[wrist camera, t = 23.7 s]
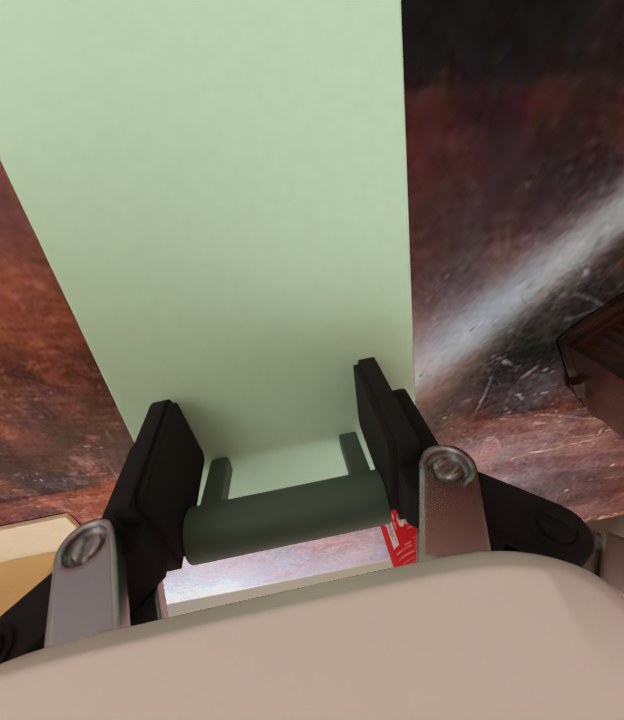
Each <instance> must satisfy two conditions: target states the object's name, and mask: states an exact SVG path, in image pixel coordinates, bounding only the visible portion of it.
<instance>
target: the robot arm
mask: <svg viewBox="0 0 624 720" xmlns="http://www.w3.org/2000/svg"><path fill="white" fill-rule="evenodd" d="M353 370H354V380H355V389H356V399H357V408H358V418H359V424H360V427H361V430H362V433H363V436H364V439H365V442H366V444H367V447H368V450H369V453H370V456H371V459H372V461H373V464H374V467H375V469H377V470H378V471H379V473H380V474H381V477H382V479H383V482H384V485H385V488H386V491H387V495H388V499H389V503H390V508H391V511H393V510H396V511H397V514H398V516H399V519H400V520H402V519H406V521H407V524H409V525H411V526H413V527H415V528H417V563H413V564H408V565H403V566H398V567H393V568H388V569H384V570H379V571H375V572H370V573H366V574H361V575H356V576H352V577H348V578H343V579H338V580H334V581H329V582H324V583H320V584H316V585H311V586H306V587H302V588H297V589H293V590H289V591H284V592H280V593H275V594H271V595H267V596H262V597H257V598H253V599H248V600H244V601H239V602H235V603H231V604H226V605H222V606H217V607H214V608H208V609H205V610H200V611H195V612H191V613H187V614H182V615H178V616H174V617H170V618H169V617H168V611H167V605H166V599H165V593H164V587H163V581H162V580H163V579H164V578H165V577H166V573H167V571H172V570H176V569H181V568H182V563H183V557H184V556H185V553H184V549H183V540H182V531H183V522H184V518H185V515H186V512H187V511H188V509H189V508H191V507H194V506H197V502H198V496H199V491H200V485H201V479H202V473H203V467H204V454H203V451H202V449H201V447H200V445H199V444H198V442H197V440H196V438H195V436H194V434H193V432H192V430H191V428H190V426H189V424H188V422H187V420H186V418H185V417H184V415H183V413H182V411H181V409H180V407H179V405H178V403H176V402H174V403H173V402H172V401H171V400H169V399H168V400H163V401H159V402H154V403H152V404H151V405H150V407H149V410H148V412H147V415H146V417H145V419H144V422H143V424H142V427H141V429H140V432H139V434H138V436H137V439H136V441H135V444H134V446H133V447H132V448H131V450H130V452H129V454H128V457H127V459H126V462H125V464H124V466H123V469H122V471H121V474H120V476H119V478H118V481H117V483H116V485H115V488H114V490H113V493H112V495H111V497H110V500H109V502H108V505H107V507H106V509H105V512H104V514H103V516H102V518H100V519H93V520H91V521H88V522H86V523H84V524H82V525H81V526H79V527H78V528H76V529H75V530H74V531H73V532H72V533H70V534H69V535H68V536H67V537H66V539H65V540H64V541H63V542H62V543H61V545H60V547H59V548H58V550H57V552H56V554H55V558H54V562H53V571H52V573H50V574H49V575H48V576H47V577H46V578H44V579H43V580H42V581H41V582H40V583H39V584H37V585H36V586H35V587H34V588H33V589H32V590H30V591H29V592H28V593H27V594H26V595H25V596H23V597H22V598H21V599H20V600H19V601H18V602H16V603H15V604H14V605H13V606H12V607H11V608H9V609H8V610H7V611H6V612H5V613H4V614H2V615H1V616H0V720H624V538H623V537H620V536H618V535H615V534H613V533H611V532H608V531H606V530H602V532H601V533H599V532H597V531H595V530H592V529H590V528H589V527H588V526H587V525H586V524H585V523H584V521H583V520H582V519H581V518H580V517H579V516H577V515H576V514H575V513H573V512H572V511H571V510H569V509H567V508H565V507H563V506H561V505H559V504H557V503H554V502H552V501H549V500H547V499H544V498H542V497H539V496H537V495H534V494H532V493H529V492H527V491H524V490H522V489H520V488H517V487H515V486H512V485H510V484H507V483H505V482H502V481H500V480H497V479H495V478H492V477H490V476H487V475H485V474H483V473H480V472H478V471H477V467H476V464H475V462H474V460H473V459H472V458H471V457H470V455H468V454H467V453H466V452H464V451H463V450H461V449H459V448H457V447H454V446H449V445H439V444H438V443H437V441H436V439H435V438H434V436H433V434H432V433H431V431H430V429H429V428H428V426H427V424H426V423H425V421H424V419H423V418H422V416H421V414H420V413H419V411H418V409H417V408H416V406H415V404H414V402H413V401H412V399H411V397H410V396H409V394H408V392H407V391H406V390H405V389H404V388H402V389H397V390H392V389H391V387H390V385H389V383H388V382H387V380H386V378H385V376H384V374H383V372H382V370H381V369H380V367H379V365H378V363H377V361H376V359H375V358H374V357H370V358H365V359H360V360H358V364H356V365H353Z"/></svg>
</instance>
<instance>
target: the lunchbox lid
mask: <svg viewBox="0 0 624 720" xmlns="http://www.w3.org/2000/svg"><path fill="white" fill-rule="evenodd" d="M0 160H1V163H2V165H3V167H4V169H5V171H6V173H7V175H8V177H9V179H10V182H11V184H12V186H13V188H14V190H15V192H16V194H17V196H18V198H19V201H20V203H21V205H22V207H23V209H24V211H25V213H26V215H27V217H28V219H29V222H30V224H31V226H32V228H33V230H34V232H35V234H36V236H37V238H38V241H39V243H40V245H41V247H42V249H43V251H44V253H45V255H46V257H47V260H48V262H49V264H50V266H51V268H52V270H53V272H54V274H55V276H56V279H57V281H58V283H59V285H60V287H61V289H62V291H63V293H64V295H65V298H66V300H67V302H68V304H69V306H70V308H71V310H72V312H73V314H74V317H75V319H76V321H77V323H78V325H79V327H80V329H81V331H82V333H83V335H84V338H85V340H86V342H87V344H88V346H89V348H90V350H91V352H92V354H93V357H94V359H95V361H96V363H97V365H98V367H99V369H100V371H101V373H102V376H103V378H104V380H105V382H106V384H107V386H108V388H109V390H110V392H111V395H112V397H113V399H114V401H115V403H116V405H117V407H118V409H119V411H120V414H121V416H122V418H123V420H124V422H125V424H126V426H127V428H128V430H129V432H130V435H131V437H132V439H133V441H134V443H135V441H136V439H137V436H138V434H139V432H140V429H141V427H142V424H143V422H144V419H145V417H146V415H147V412H148V410H149V407H150V405H151V404H152V403H154V402H159V401H163V400H168V399H169V400H171V401H172V402H173V403H174V402H176V403H178V405H179V407H180V409H181V411H182V413H183V415H184V417H185V418H186V420H187V422H188V424H189V426H190V428H191V430H192V432H193V434H194V436H195V438H196V440H197V442H198V444H199V445H200V447H201V449H202V451H203V454H204V467H203V473H202V479H201V485H200V491H199V496H198V502H197V506H194V507H191V508H189V509H188V511H187V512H186V515H185V518H184V522H183V531H182V540H183V549H184V553H185V557H186V559H187V561H188V562H189V563H190V564H191V565H198V564H203V563H207V562H212V561H217V560H221V559H226V558H231V557H236V556H240V555H245V554H250V553H255V552H259V551H264V550H269V549H274V548H278V547H283V546H288V545H292V544H297V543H302V542H307V541H311V540H316V539H321V538H326V537H330V536H335V535H340V534H345V533H349V532H354V531H359V530H363V529H368V528H373V527H378V526H382V525H387V524H390V523H391V521H392V515H391V508H390V503H389V499H388V495H387V491H386V488H385V485H384V482H383V479H382V477H381V474H380V473H379V471H378V470H377V469H375V467H374V464H373V461H372V459H371V456H370V453H369V450H368V447H367V444H366V442H365V439H364V436H363V433H362V430H361V427H360V424H359V418H358V408H357V399H356V389H355V380H354V370H353V365H356V364H358V360H360V359H365V358H370V357H374V358H375V359H376V361H377V363H378V365H379V367H380V369H381V370H382V372H383V374H384V376H385V378H386V380H387V382H388V383H389V385H390V387H391V389H392V390H397V389H402V388H404V389H405V390H406V391H407V392H408V394H409V396H410V397H411V399H412V401H413V402H414V404H415V380H414V353H413V325H412V297H411V269H410V241H409V214H408V186H407V158H406V130H405V102H404V74H403V47H402V19H401V0H0Z"/></svg>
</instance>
